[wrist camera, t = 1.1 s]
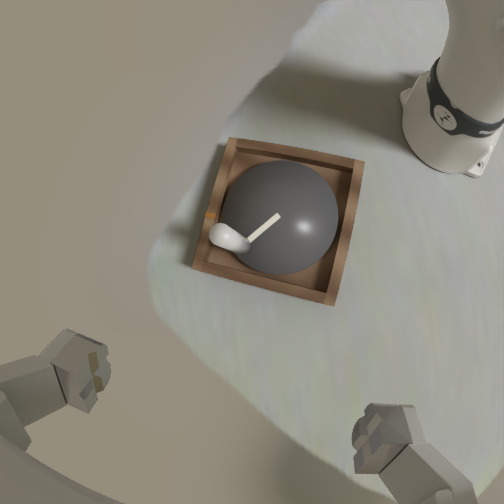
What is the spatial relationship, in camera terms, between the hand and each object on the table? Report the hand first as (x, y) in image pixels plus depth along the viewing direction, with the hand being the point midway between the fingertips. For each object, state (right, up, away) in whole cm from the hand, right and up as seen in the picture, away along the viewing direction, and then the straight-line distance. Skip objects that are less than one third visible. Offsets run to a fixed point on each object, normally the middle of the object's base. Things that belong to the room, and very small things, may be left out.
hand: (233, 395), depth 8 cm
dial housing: (+5, +9, +36) cm, 38 cm away
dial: (+4, +9, +34) cm, 36 cm away
